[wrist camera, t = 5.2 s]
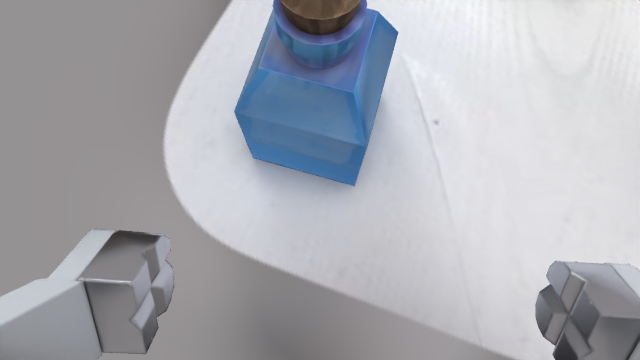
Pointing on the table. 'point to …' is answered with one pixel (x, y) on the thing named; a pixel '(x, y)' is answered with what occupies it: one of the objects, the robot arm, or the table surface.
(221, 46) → the table surface
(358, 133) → the perfume bottle
